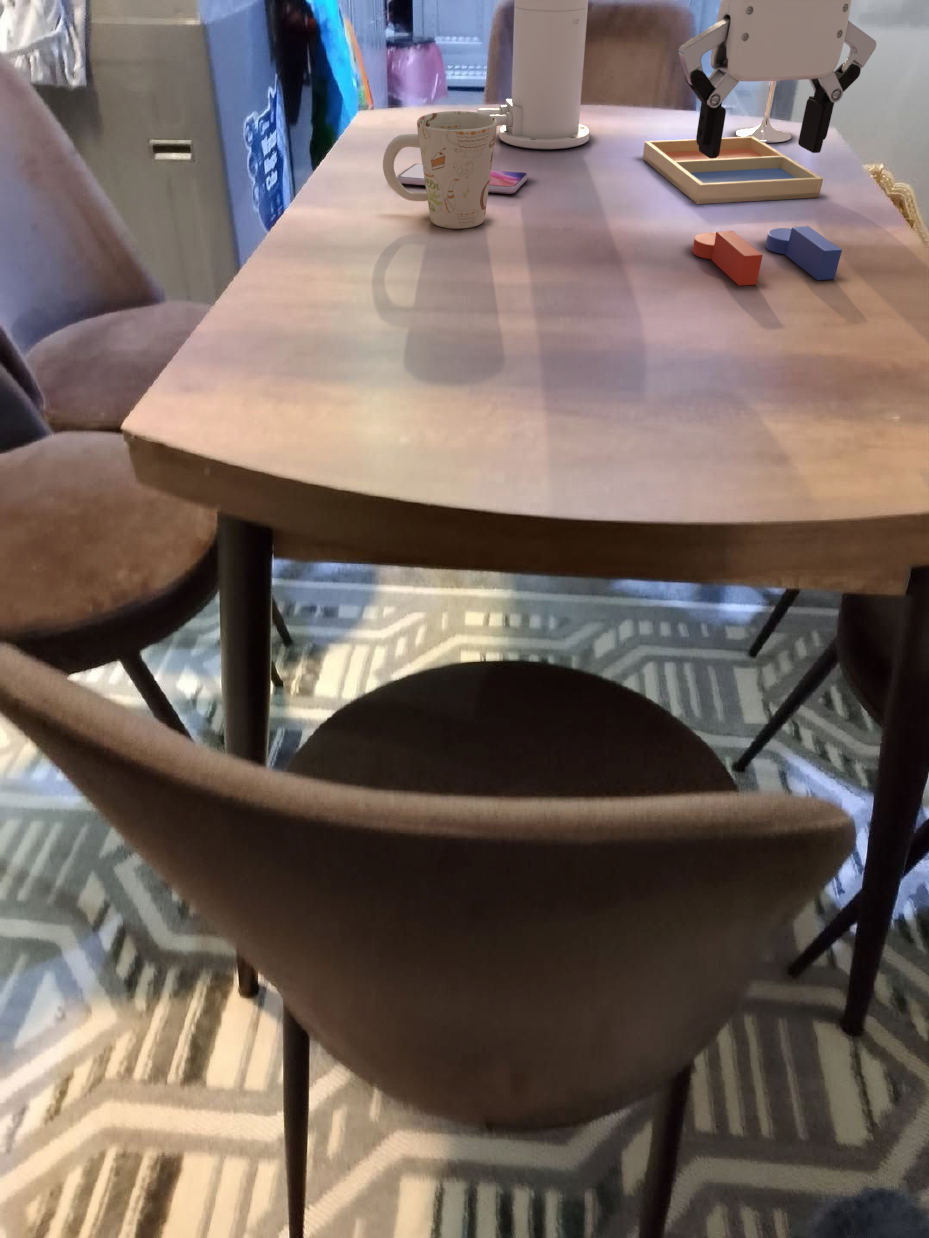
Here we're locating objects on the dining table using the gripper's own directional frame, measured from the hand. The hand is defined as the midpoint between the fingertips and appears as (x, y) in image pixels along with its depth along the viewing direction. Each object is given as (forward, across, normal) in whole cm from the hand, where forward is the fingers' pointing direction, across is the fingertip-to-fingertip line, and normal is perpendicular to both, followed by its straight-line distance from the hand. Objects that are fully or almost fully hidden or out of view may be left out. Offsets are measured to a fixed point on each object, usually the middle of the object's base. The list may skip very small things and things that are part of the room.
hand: (758, 152), depth 82 cm
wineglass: (+10, -25, -49) cm, 56 cm away
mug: (+11, +26, -21) cm, 35 cm away
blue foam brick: (+11, -8, -2) cm, 14 cm away
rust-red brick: (+11, 0, -2) cm, 11 cm away
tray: (+10, -12, -31) cm, 35 cm away
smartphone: (+10, +21, -34) cm, 42 cm away
